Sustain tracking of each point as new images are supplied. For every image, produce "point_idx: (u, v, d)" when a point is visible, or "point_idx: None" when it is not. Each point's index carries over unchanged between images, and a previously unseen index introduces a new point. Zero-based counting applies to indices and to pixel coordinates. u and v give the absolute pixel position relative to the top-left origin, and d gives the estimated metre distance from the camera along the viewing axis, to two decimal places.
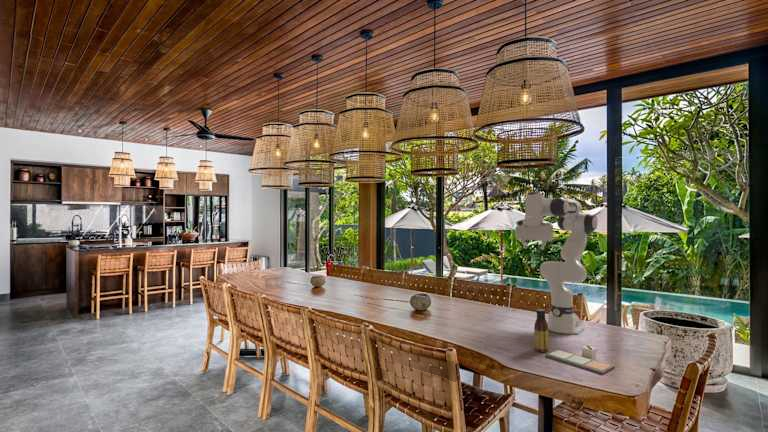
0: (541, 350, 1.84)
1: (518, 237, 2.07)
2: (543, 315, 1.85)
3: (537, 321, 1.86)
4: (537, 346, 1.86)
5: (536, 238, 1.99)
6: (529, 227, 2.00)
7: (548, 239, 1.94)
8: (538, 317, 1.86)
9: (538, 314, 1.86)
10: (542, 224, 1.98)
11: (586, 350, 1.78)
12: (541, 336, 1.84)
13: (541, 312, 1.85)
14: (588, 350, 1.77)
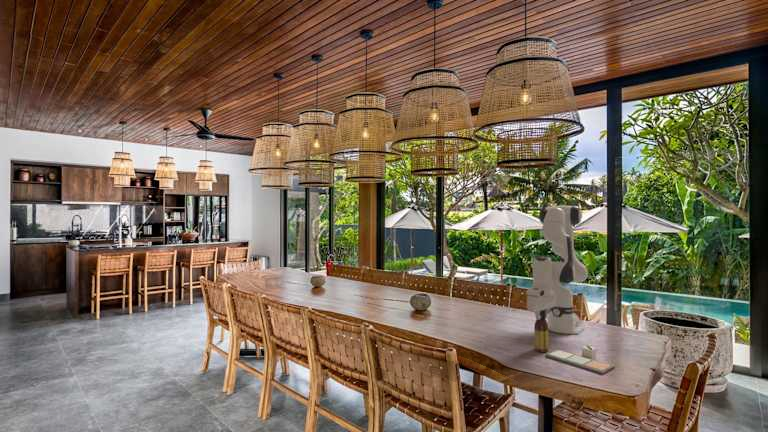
0: (541, 350, 1.84)
1: (536, 310, 1.81)
2: (543, 315, 1.85)
3: (537, 321, 1.86)
4: (537, 346, 1.86)
5: (548, 306, 1.87)
6: (547, 296, 1.84)
7: (555, 305, 1.91)
8: None
9: None
10: None
11: (586, 350, 1.78)
12: (541, 336, 1.84)
13: (541, 312, 1.85)
14: (588, 350, 1.77)
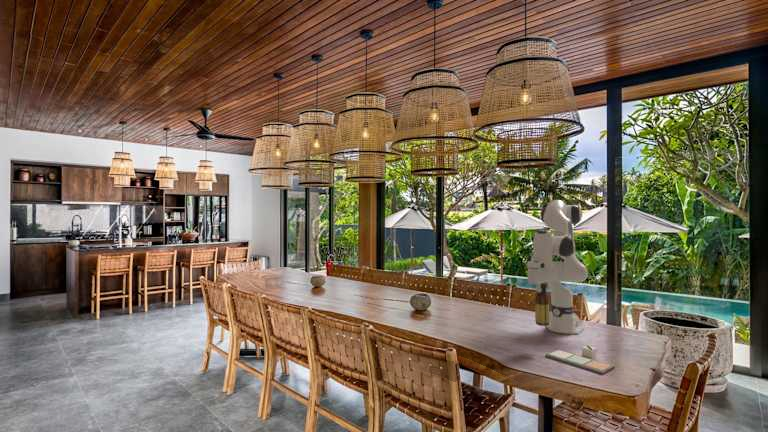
0: (542, 324, 1.85)
1: (537, 282, 1.81)
2: (544, 289, 1.85)
3: (538, 295, 1.86)
4: (538, 320, 1.86)
5: (548, 279, 1.87)
6: (547, 269, 1.84)
7: (555, 278, 1.91)
8: None
9: None
10: None
11: (586, 350, 1.78)
12: (542, 310, 1.84)
13: (542, 286, 1.85)
14: (588, 350, 1.77)
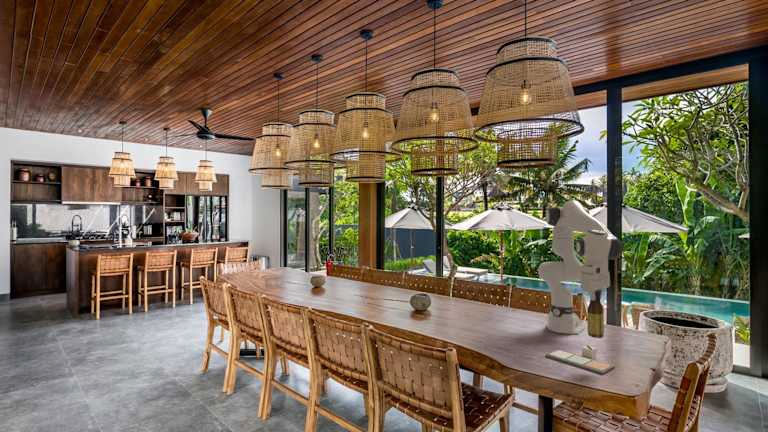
0: (596, 335, 1.65)
1: (592, 289, 1.61)
2: (598, 296, 1.66)
3: (591, 303, 1.67)
4: (591, 331, 1.66)
5: (603, 286, 1.68)
6: (602, 274, 1.65)
7: (609, 285, 1.72)
8: None
9: None
10: None
11: (586, 350, 1.78)
12: (597, 320, 1.65)
13: (596, 293, 1.66)
14: (588, 350, 1.77)
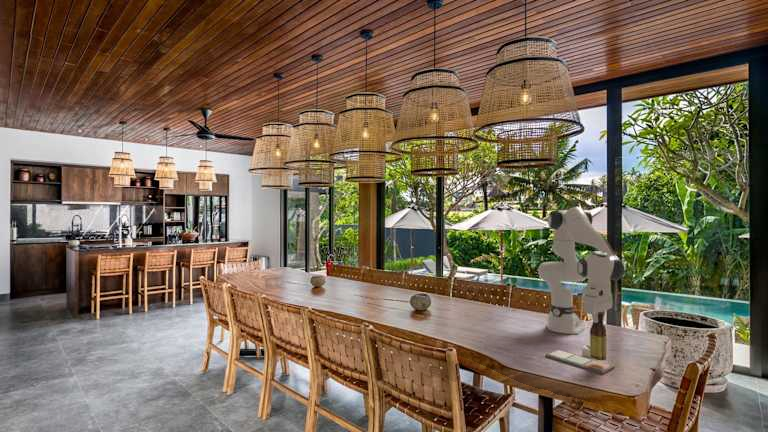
0: (599, 358, 1.64)
1: (594, 312, 1.60)
2: (601, 318, 1.65)
3: (594, 325, 1.66)
4: (594, 353, 1.65)
5: (605, 308, 1.67)
6: (605, 296, 1.64)
7: (611, 306, 1.71)
8: None
9: None
10: None
11: (586, 350, 1.78)
12: (599, 342, 1.64)
13: (599, 315, 1.65)
14: (588, 350, 1.77)
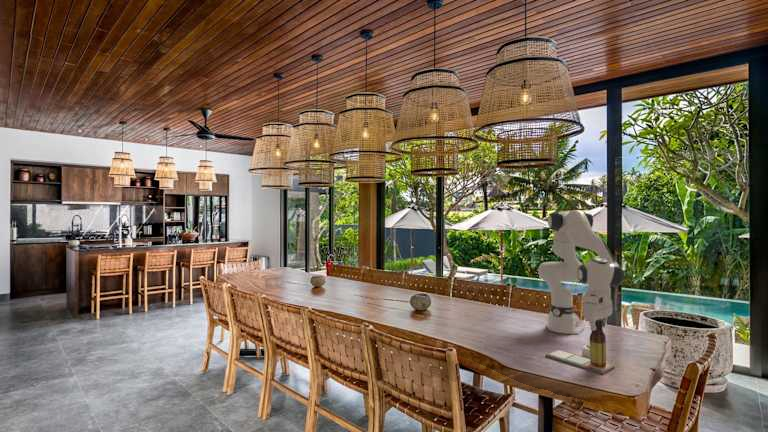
0: (599, 364, 1.64)
1: (594, 319, 1.60)
2: (600, 325, 1.65)
3: (593, 332, 1.66)
4: (594, 360, 1.65)
5: (605, 315, 1.67)
6: (605, 303, 1.64)
7: (611, 313, 1.71)
8: None
9: (595, 324, 1.66)
10: None
11: (586, 350, 1.78)
12: (599, 349, 1.64)
13: (598, 322, 1.65)
14: (588, 350, 1.77)
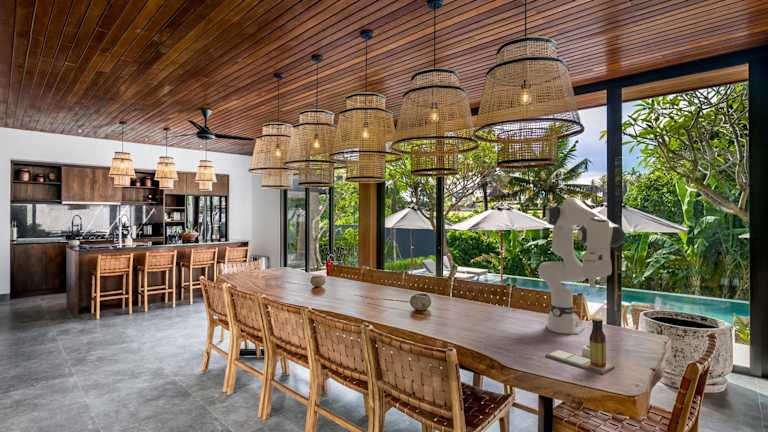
0: (599, 364, 1.64)
1: (594, 276, 1.61)
2: (600, 325, 1.65)
3: (593, 332, 1.66)
4: (594, 360, 1.65)
5: (605, 273, 1.67)
6: (605, 261, 1.64)
7: (611, 272, 1.71)
8: (595, 327, 1.66)
9: (595, 324, 1.66)
10: None
11: (586, 350, 1.78)
12: (599, 349, 1.64)
13: (598, 322, 1.65)
14: (588, 350, 1.77)
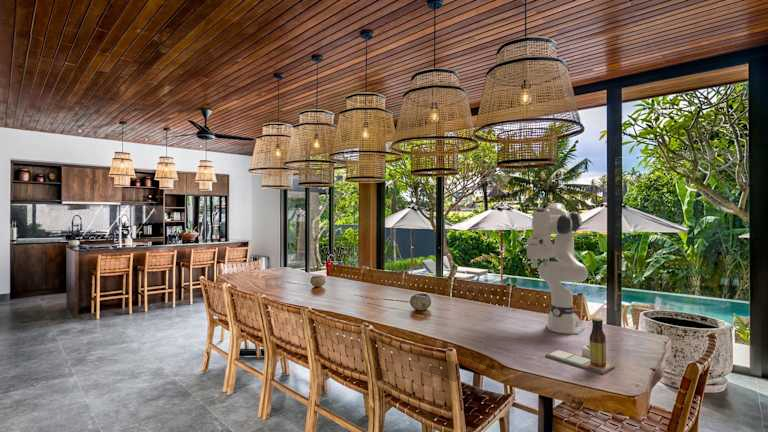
0: (599, 364, 1.64)
1: (536, 257, 1.91)
2: (600, 325, 1.65)
3: (593, 332, 1.66)
4: (594, 360, 1.65)
5: (547, 256, 1.97)
6: (546, 245, 1.94)
7: (553, 255, 2.01)
8: (595, 327, 1.66)
9: (595, 324, 1.66)
10: None
11: (586, 350, 1.78)
12: (599, 349, 1.64)
13: (598, 322, 1.65)
14: (588, 350, 1.77)
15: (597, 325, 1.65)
